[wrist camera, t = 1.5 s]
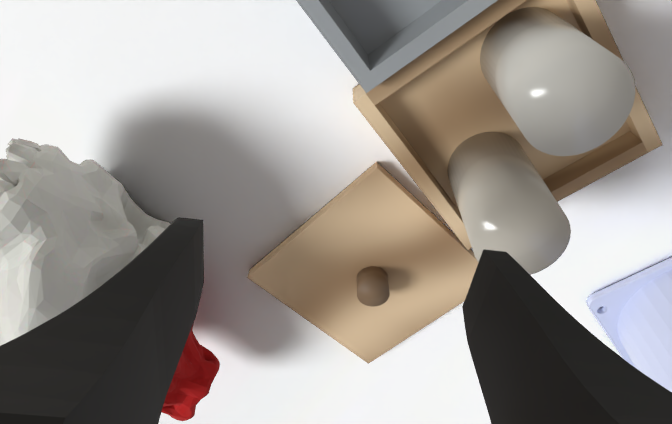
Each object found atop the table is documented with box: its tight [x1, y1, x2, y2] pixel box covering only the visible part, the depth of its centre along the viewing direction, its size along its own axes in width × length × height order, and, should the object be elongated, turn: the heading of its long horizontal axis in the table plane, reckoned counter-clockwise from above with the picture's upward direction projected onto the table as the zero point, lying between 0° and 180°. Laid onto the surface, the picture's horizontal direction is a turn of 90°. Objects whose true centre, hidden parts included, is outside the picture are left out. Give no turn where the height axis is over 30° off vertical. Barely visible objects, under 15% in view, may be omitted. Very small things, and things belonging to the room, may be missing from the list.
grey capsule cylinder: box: [447, 132, 571, 275], centre depth 21 cm, size 3×3×6 cm
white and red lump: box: [0, 139, 220, 421], centre depth 24 cm, size 9×11×15 cm
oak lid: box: [248, 162, 479, 363], centre depth 26 cm, size 9×9×2 cm
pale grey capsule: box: [480, 7, 635, 156], centre depth 18 cm, size 3×3×6 cm
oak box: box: [353, 0, 663, 250], centre depth 22 cm, size 9×9×2 cm
